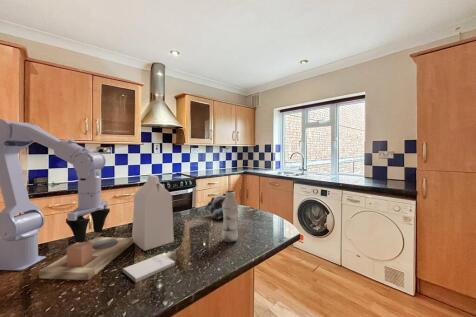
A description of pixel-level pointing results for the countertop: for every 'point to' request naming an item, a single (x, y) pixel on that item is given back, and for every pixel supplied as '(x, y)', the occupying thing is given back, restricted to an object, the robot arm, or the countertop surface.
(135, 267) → the external hard drive
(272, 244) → the countertop surface
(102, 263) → the pocket board
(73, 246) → the terracotta block
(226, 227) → the plastic bottle
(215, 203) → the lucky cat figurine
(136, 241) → the milk
